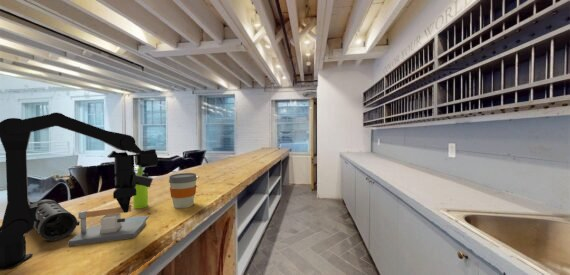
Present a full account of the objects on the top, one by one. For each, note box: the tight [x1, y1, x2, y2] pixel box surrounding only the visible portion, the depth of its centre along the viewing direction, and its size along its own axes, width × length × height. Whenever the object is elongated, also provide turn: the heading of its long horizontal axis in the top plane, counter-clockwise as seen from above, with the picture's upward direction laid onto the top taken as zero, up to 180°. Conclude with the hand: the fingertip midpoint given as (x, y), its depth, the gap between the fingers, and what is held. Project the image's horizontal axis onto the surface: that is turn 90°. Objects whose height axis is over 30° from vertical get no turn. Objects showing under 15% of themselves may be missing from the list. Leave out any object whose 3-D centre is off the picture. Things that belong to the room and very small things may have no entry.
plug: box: [100, 213, 126, 233], centre depth 78 cm, size 5×6×6 cm
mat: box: [121, 215, 149, 223], centre depth 89 cm, size 8×8×1 cm
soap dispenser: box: [132, 165, 149, 209], centre depth 107 cm, size 6×7×20 cm
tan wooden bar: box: [78, 204, 132, 220], centre depth 78 cm, size 2×15×2 cm, turn 117°
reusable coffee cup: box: [168, 172, 198, 209], centre depth 109 cm, size 13×13×15 cm
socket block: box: [67, 218, 147, 247], centre depth 77 cm, size 12×18×6 cm, turn 106°
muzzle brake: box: [32, 199, 81, 241], centre depth 82 cm, size 10×28×10 cm
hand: (126, 212), depth 79 cm, fingers closed
